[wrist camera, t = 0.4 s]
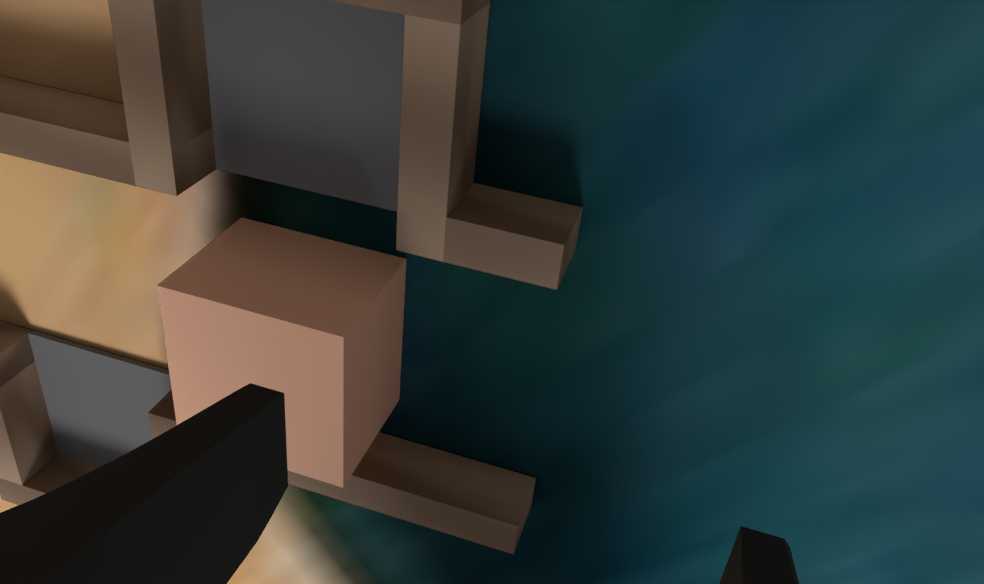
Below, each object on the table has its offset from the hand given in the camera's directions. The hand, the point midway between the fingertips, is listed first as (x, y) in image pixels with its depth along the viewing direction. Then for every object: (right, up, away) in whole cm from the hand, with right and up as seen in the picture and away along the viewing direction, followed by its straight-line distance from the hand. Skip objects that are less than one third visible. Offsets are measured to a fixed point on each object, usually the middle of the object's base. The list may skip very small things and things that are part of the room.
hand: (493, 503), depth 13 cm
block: (-5, +3, +12) cm, 13 cm away
